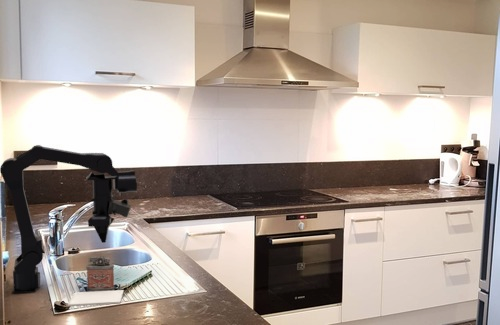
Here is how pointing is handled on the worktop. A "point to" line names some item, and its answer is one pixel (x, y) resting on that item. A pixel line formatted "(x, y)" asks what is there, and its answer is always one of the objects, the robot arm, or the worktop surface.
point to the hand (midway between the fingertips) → (103, 242)
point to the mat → (96, 298)
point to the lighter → (100, 274)
